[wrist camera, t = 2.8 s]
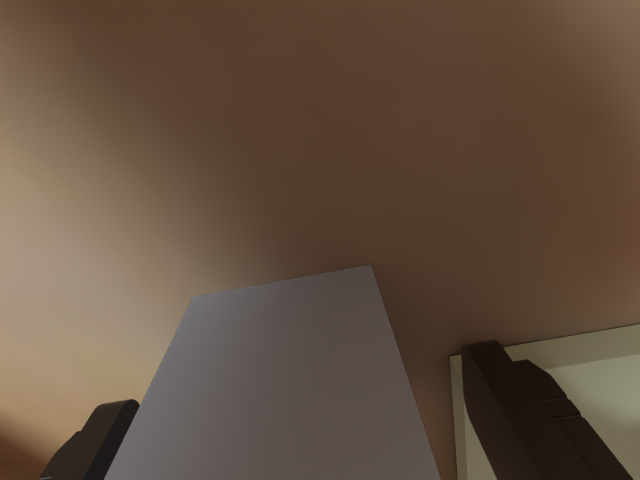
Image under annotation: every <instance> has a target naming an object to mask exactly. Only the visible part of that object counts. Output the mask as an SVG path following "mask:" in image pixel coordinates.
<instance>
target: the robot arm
mask: <svg viewBox="0 0 640 480" xmlns="http://www.w3.org/2000/svg"><path fill="white" fill-rule="evenodd" d="M461 358H462V378H463V396H464V402H465V406H466V410H467V413H468V416H469V419H470V422H471V424H472V426H473V428H474V430H475V433H476V435H477V437H478V439H479V441H480V443H481V446H482V448H483V450H484V452H485V454H486V456H487V459H488V461H489V463H490V465H491V467H492V469H493V472H494V474H495V476H496V478H497V480H634V479H633V478H632V477H631V476H630V474H629V473H628V472H627V470H626V469H625V468H624V467H623V465H622V464H621V463H620V462H619V460H618V459H617V458H616V457H615V455H614V454H613V453H612V452H611V450H610V449H609V448H608V447H607V445H606V444H605V443H604V441H603V440H602V439H601V438H600V436H599V435H598V434H597V433H596V431H595V430H594V429H593V428H592V426H591V425H590V424H589V423H588V421H587V420H586V419H585V418H583V417H582V416H581V412H580V411H579V410H578V409H577V407H576V406H575V405H574V404H573V402H572V401H571V400H570V399H569V400H568V398H567V395H566V394H565V392H564V391H563V390H562V389H561V387H560V386H559V385H558V383H557V382H556V381H555V380H554V378H553V377H552V376H551V375H550V374H549V373H547V372H546V371H544V370H543V369H541V368H540V367H538V366H537V365H535V364H534V363H532V362H531V361H529V360H528V359H525V360H519V361H512V359H511V358H510V357H509V355H508V354H507V352H506V351H505V349H504V348H503V347H502V345H501V344H500V343H499V342H498V341H497V340H490V341H484V342H478V343H472V344H466V345H462V348H461ZM139 407H140V405H139V403H138V402H137V401H136V400H134V399H130V400H124V401H118V402H112V403H106V404H101V405H99V406H97V407H96V408H95V410H94V411H93V413H92V414H91V416H90V417H89V419H88V421H87V422H86V424H85V425H84V427H83V429H82V430H81V431H78V432H76V433H75V434H74V435H73V436H72V437H71V438H70V439H69V440H68V441H67V442H66V443H65V444H64V445H63V446H62V447H61V448H60V449H59V450H58V451H57V452H56V453H55V454H54V456H53V457H52V459H51V460H50V462H49V463H48V465H47V467H46V468H45V470H44V471H43V473H42V474H41V476H40V480H104V478H105V476H106V474H107V472H108V470H109V468H110V466H111V464H112V462H113V460H114V458H115V456H116V454H117V452H118V450H119V448H120V446H121V444H122V441H123V439H124V437H125V435H126V433H127V431H128V429H129V427H130V425H131V423H132V421H133V419H134V417H135V415H136V413H137V411H138V409H139Z"/></svg>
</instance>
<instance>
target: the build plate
mask: <svg viewBox="0 0 640 480" xmlns="http://www.w3.org/2000/svg"><path fill="white" fill-rule="evenodd" d="M503 348H504V349H505V351H506V352H507V354H508V355H509V357H510V358H511V359H512V361H519V360H525V359H528V360H529V361H531V362H532V363H534V364H535V365H537V366H538V367H540V368H541V369H543V370H544V371H546V372H547V373H549V374H550V375H551V376H552V377H553V378H554V380H555V381H556V382H557V383H558V385H559V386H560V387H561V389H562V390H563V391H564V392H565V394H566V395H567V398H568V400H569V399H570V400H571V401H572V402H573V404H574V405H575V406H576V407H577V409H578V410H579V411H580V412H581V416H582V417H583V418H585V419H586V420H587V421H588V423H589V424H590V425H591V426H592V428H593V429H594V430H595V431H596V433H597V434H598V435H599V436H600V438H601V439H602V440H603V441H604V443H605V444H606V445H607V447H608V448H609V449H610V450H611V452H612V453H613V454H614V455H615V457H616V458H617V459H618V460H619V462H620V463H621V464H622V465H623V467H624V468H625V469H626V470H627V472H628V473H629V474H630V476H631V477H632V478H633V479H634V480H640V324H638V325H632V326H626V327H620V328H615V329H609V330H603V331H597V332H591V333H585V334H579V335H573V336H567V337H561V338H555V339H549V340H543V341H538V342H532V343H526V344H520V345H514V346H508V347H503ZM450 370H451V385H452V400H453V416H454V431H455V446H456V461H457V476H458V480H497V478H496V476H495V474H494V472H493V469H492V467H491V465H490V463H489V461H488V459H487V456H486V454H485V452H484V450H483V448H482V446H481V443H480V441H479V439H478V437H477V435H476V433H475V430H474V428H473V426H472V424H471V422H470V419H469V416H468V413H467V410H466V406H465V402H464V396H463V378H462V358H461V354H460V355H455V356H450Z"/></svg>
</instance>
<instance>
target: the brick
mask: <svg viewBox="0 0 640 480" xmlns="http://www.w3.org/2000/svg"><path fill="white" fill-rule="evenodd" d="M104 480H441V478H440V475H439V472H438V468H437V465H436V462H435V459H434V456H433V453H432V450H431V447H430V444H429V441H428V438H427V435H426V432H425V429H424V426H423V422H422V419H421V416H420V413H419V410H418V407H417V404H416V401H415V398H414V395H413V392H412V389H411V386H410V383H409V380H408V377H407V373H406V370H405V367H404V364H403V361H402V358H401V355H400V352H399V349H398V346H397V343H396V340H395V337H394V334H393V331H392V327H391V324H390V321H389V318H388V315H387V312H386V309H385V306H384V303H383V300H382V297H381V294H380V291H379V288H378V285H377V281H376V278H375V275H374V272H373V269H372V266H371V264H370V265H364V266H359V267H353V268H348V269H342V270H337V271H331V272H326V273H320V274H315V275H309V276H304V277H298V278H293V279H287V280H282V281H276V282H271V283H265V284H260V285H254V286H249V287H243V288H238V289H232V290H227V291H221V292H216V293H210V294H205V295H199V296H194V297H193V298H192V300H191V302H190V304H189V306H188V309H187V311H186V313H185V315H184V317H183V319H182V321H181V323H180V325H179V327H178V329H177V331H176V333H175V335H174V337H173V339H172V341H171V343H170V345H169V347H168V349H167V351H166V354H165V356H164V358H163V360H162V362H161V364H160V366H159V368H158V370H157V372H156V374H155V376H154V378H153V380H152V382H151V384H150V386H149V388H148V390H147V392H146V394H145V396H144V399H143V401H142V403H141V405H140V407H139V409H138V411H137V413H136V415H135V417H134V419H133V421H132V423H131V425H130V427H129V429H128V431H127V433H126V435H125V437H124V439H123V441H122V444H121V446H120V448H119V450H118V452H117V454H116V456H115V458H114V460H113V462H112V464H111V466H110V468H109V470H108V472H107V474H106V476H105V478H104Z"/></svg>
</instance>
